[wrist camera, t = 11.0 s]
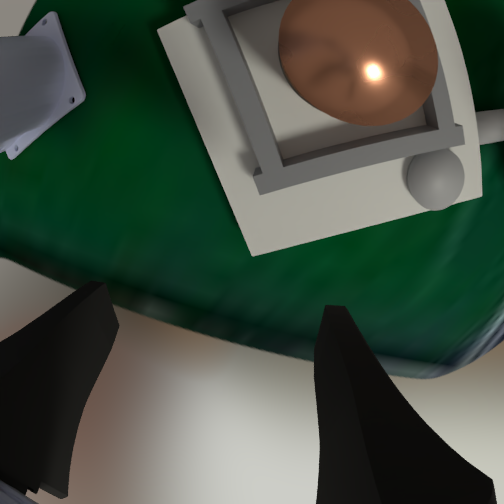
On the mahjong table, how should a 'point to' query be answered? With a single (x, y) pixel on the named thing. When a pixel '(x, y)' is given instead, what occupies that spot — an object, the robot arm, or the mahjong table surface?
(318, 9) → the spout can
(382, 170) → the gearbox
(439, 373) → the mahjong table surface
